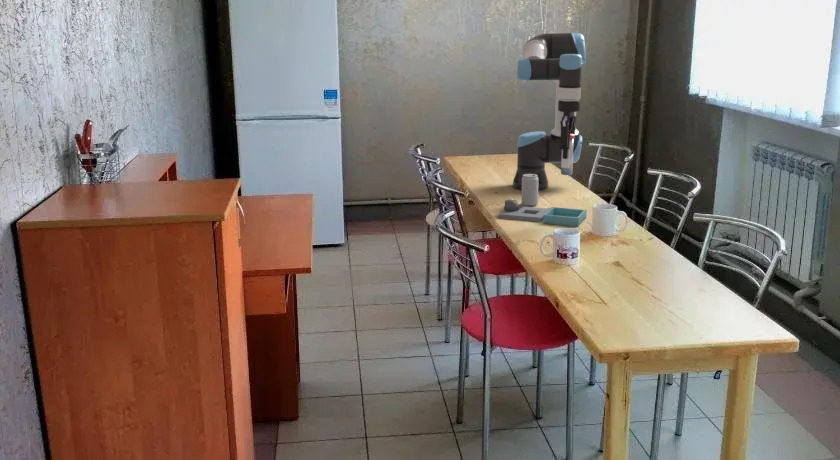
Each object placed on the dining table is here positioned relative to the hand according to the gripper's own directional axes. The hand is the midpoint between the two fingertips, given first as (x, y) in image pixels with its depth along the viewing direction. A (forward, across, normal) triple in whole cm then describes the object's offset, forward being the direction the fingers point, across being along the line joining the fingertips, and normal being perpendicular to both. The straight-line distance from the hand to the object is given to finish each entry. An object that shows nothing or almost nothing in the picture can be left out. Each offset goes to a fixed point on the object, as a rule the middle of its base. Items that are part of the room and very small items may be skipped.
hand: (566, 166), depth 279 cm
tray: (+20, 0, 0) cm, 20 cm away
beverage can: (+20, -18, -18) cm, 33 cm away
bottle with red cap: (+3, 0, 0) cm, 3 cm away
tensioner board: (+20, -2, -16) cm, 25 cm away
